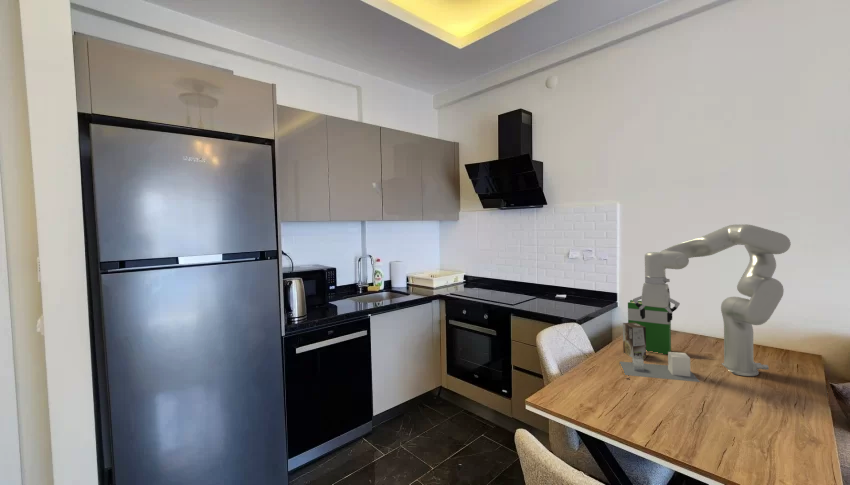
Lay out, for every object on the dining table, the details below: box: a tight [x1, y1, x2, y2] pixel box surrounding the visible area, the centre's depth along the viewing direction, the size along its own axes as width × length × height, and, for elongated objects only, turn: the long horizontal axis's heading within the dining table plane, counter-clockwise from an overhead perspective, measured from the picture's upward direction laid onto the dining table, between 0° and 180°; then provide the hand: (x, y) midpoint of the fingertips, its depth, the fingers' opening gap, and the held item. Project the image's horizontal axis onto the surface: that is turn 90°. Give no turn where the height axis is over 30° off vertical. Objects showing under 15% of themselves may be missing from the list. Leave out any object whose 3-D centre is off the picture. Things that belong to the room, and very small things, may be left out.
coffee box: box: [622, 322, 647, 359], centre depth 173 cm, size 9×6×16 cm
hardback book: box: [627, 299, 672, 355], centre depth 183 cm, size 18×7×24 cm, turn 51°
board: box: [619, 361, 701, 383], centre depth 154 cm, size 26×16×2 cm, turn 70°
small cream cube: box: [667, 351, 691, 376], centre depth 151 cm, size 6×6×8 cm
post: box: [631, 356, 645, 371], centre depth 156 cm, size 4×4×5 cm
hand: (655, 319), depth 157 cm, fingers open, 9 cm apart
